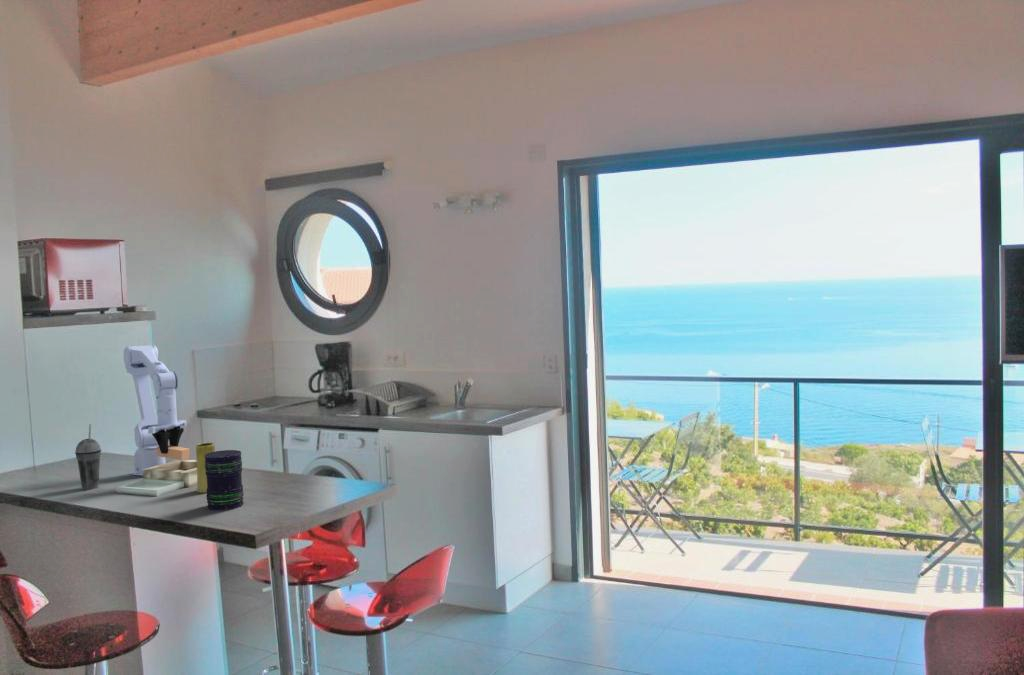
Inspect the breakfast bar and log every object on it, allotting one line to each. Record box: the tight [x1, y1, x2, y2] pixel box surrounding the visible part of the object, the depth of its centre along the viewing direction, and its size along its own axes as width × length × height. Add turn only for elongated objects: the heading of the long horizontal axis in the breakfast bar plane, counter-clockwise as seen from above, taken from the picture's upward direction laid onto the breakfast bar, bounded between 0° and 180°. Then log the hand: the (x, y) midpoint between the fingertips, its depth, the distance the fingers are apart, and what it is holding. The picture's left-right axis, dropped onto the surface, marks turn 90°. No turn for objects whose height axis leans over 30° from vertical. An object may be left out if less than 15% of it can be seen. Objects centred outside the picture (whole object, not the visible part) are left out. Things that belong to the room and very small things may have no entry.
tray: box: [115, 478, 185, 497], centre depth 245 cm, size 16×11×2 cm
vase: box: [195, 442, 216, 494], centre depth 242 cm, size 6×6×14 cm
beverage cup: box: [74, 424, 102, 491], centre depth 249 cm, size 7×7×20 cm
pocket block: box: [142, 459, 197, 488], centre depth 258 cm, size 18×16×4 cm
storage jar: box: [205, 449, 245, 512], centre depth 223 cm, size 10×10×15 cm
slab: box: [157, 444, 191, 460], centre depth 254 cm, size 10×4×3 cm, turn 70°
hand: (169, 452), depth 255 cm, fingers closed on slab, 3 cm apart
